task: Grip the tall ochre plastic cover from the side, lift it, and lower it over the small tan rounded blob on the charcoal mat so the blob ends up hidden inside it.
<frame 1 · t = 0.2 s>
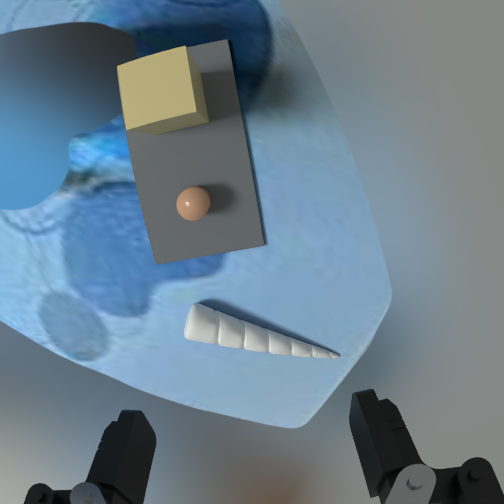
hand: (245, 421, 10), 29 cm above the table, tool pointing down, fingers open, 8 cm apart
unicorn horn: (264, 331, 43), on the table
mat: (187, 151, 34), on the table
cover: (178, 103, 32), resting on mat
tan rounded blob: (196, 200, 36), resting on mat
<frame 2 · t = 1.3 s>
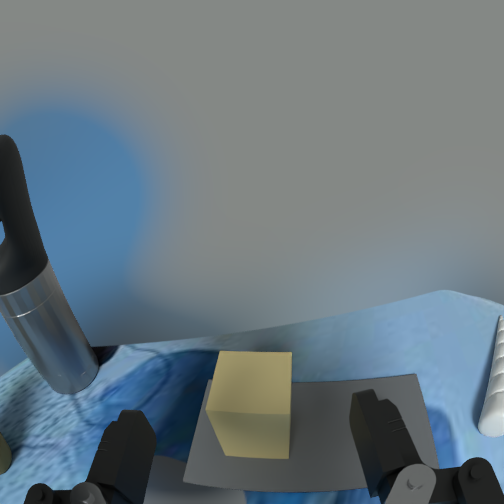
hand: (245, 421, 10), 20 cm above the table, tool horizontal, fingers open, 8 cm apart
unicorn horn: (494, 373, 29), on the table
mat: (316, 434, 27), on the table
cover: (259, 432, 28), resting on mat
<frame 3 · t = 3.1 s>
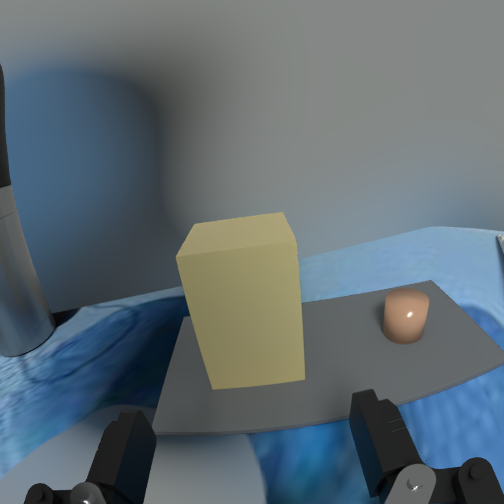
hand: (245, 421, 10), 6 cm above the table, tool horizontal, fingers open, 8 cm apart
mat: (334, 349, 22), on the table
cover: (257, 356, 22), resting on mat
tan rounded blob: (403, 330, 22), resting on mat
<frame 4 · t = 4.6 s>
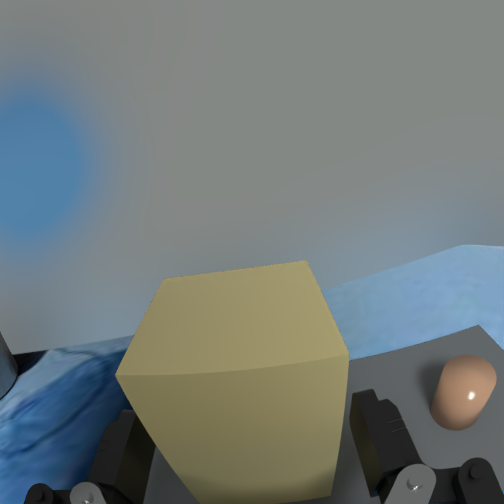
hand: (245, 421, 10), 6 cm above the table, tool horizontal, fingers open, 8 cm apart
mat: (368, 441, 14), on the table
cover: (262, 456, 14), resting on mat
tan rounded blob: (455, 408, 13), resting on mat
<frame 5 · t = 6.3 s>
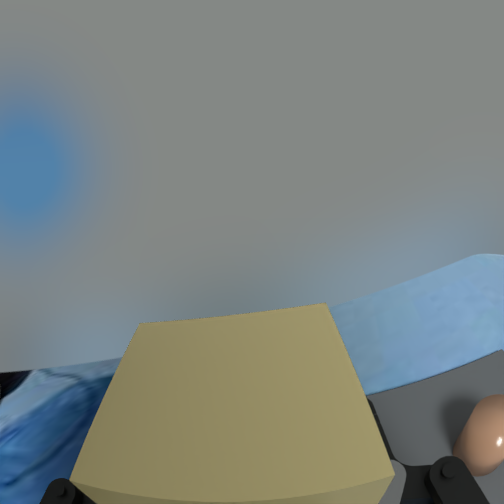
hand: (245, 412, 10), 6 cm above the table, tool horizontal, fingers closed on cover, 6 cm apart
mat: (383, 492, 10), on the table
tan rounded blob: (479, 450, 10), resting on mat
when the fingers open (8 cm above the table, at t = 12.5 s): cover drops 1 cm, resting on mat.
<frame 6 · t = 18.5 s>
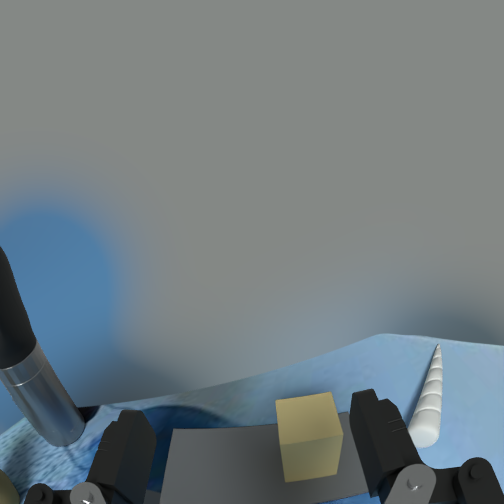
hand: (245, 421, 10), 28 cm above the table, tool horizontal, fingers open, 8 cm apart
unicorn horn: (428, 394, 38), on the table
mat: (261, 465, 32), on the table
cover: (307, 459, 32), resting on mat
squeeze bottle: (9, 500, 20), on the table
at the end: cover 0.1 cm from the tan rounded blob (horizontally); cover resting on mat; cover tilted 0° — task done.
